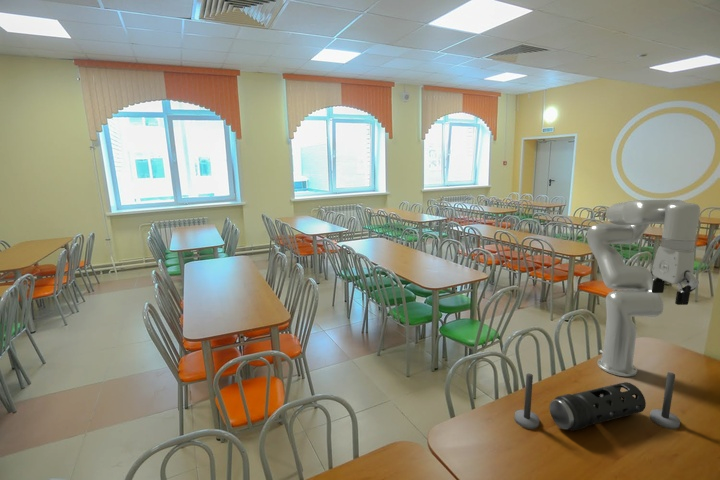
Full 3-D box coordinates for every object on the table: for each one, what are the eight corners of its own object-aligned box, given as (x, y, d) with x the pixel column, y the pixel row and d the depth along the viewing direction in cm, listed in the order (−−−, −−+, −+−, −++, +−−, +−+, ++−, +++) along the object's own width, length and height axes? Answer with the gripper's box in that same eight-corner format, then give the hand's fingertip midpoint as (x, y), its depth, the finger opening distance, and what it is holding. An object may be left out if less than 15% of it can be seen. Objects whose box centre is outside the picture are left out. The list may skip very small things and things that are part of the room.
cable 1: (511, 413, 116) (513, 369, 113) (533, 413, 116) (536, 368, 113) (519, 429, 109) (522, 381, 106) (543, 429, 109) (546, 381, 106)
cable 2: (644, 413, 114) (650, 367, 111) (667, 413, 114) (673, 367, 111) (661, 428, 108) (668, 380, 104) (685, 428, 107) (693, 380, 104)
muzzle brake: (644, 422, 111) (648, 392, 109) (570, 442, 104) (573, 410, 102) (615, 403, 120) (619, 375, 118) (546, 420, 113) (548, 391, 111)
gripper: (643, 238, 115) (637, 288, 119) (687, 251, 99) (677, 309, 102) (668, 238, 115) (661, 288, 118) (716, 251, 98) (706, 309, 102)
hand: (668, 298), depth 110 cm, fingers open, 9 cm apart
